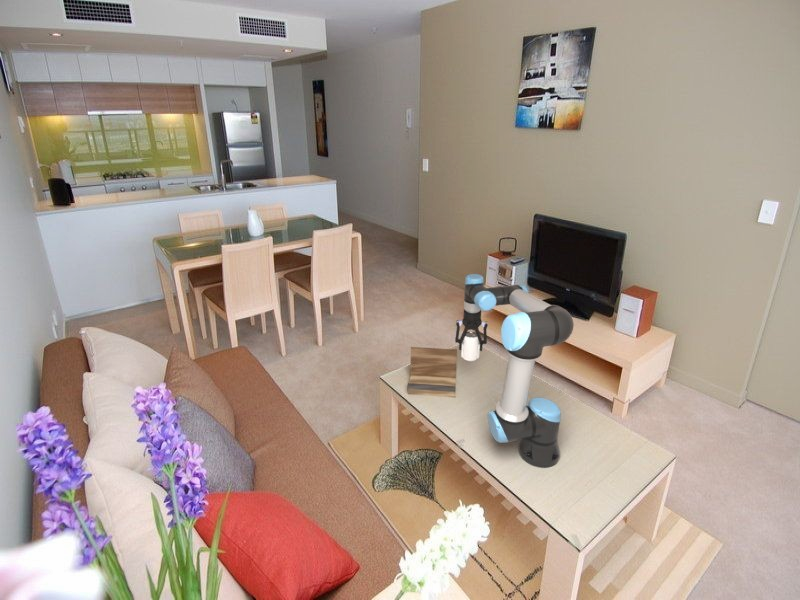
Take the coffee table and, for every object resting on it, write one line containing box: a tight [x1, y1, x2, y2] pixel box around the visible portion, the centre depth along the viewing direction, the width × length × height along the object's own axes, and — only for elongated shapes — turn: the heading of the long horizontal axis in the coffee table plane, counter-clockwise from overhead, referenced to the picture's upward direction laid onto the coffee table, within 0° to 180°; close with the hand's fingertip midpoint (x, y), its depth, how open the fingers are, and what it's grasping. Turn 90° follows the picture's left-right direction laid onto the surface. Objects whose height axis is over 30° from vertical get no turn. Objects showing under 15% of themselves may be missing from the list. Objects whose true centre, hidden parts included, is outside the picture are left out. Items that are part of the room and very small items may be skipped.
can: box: [462, 331, 479, 362], centre depth 205 cm, size 6×6×12 cm
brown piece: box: [407, 346, 458, 398], centre depth 218 cm, size 13×22×18 cm, turn 83°
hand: (470, 356), depth 207 cm, fingers closed on can, 6 cm apart
